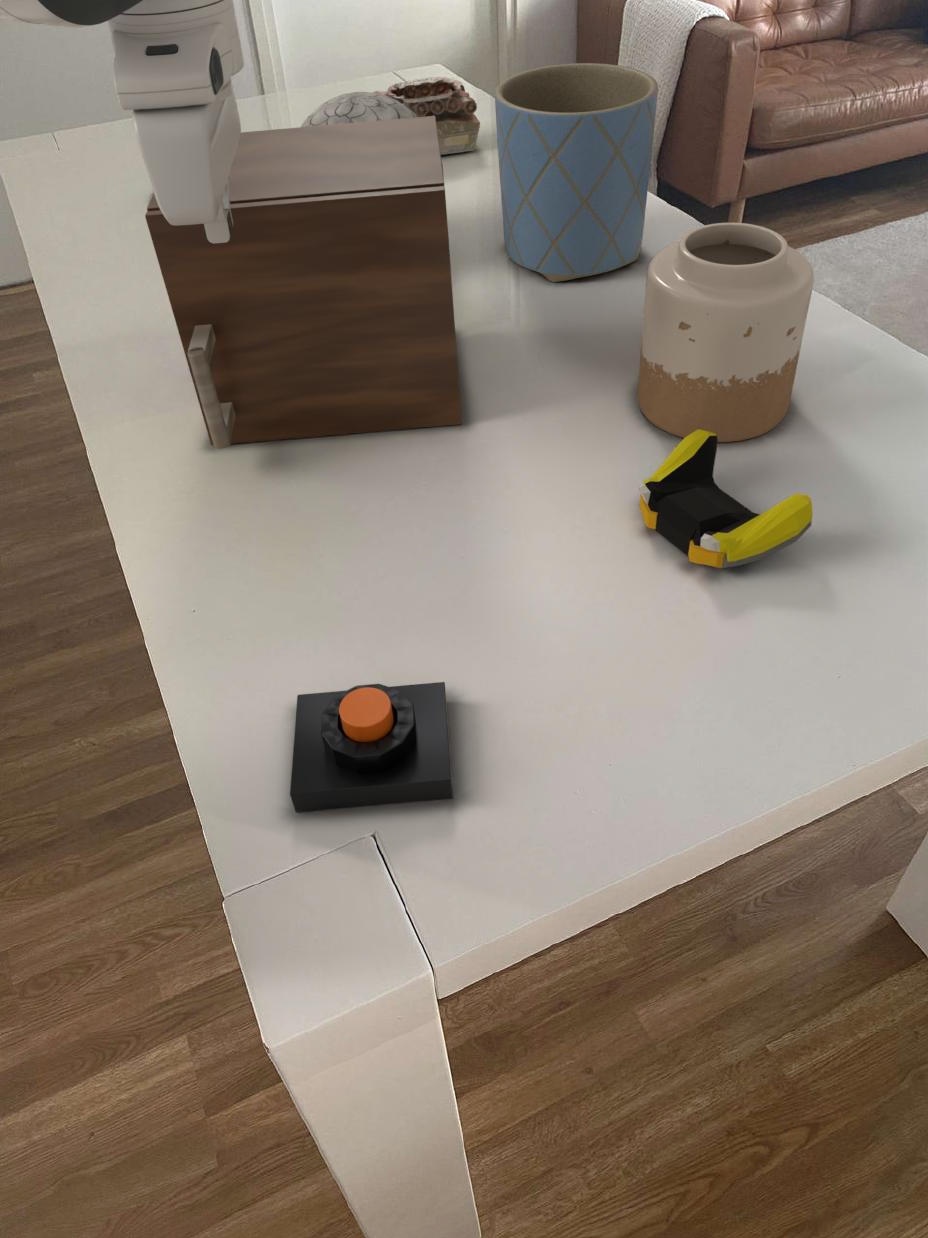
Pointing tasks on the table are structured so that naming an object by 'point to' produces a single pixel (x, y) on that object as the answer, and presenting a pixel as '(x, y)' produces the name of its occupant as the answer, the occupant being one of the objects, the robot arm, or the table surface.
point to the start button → (366, 714)
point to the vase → (722, 331)
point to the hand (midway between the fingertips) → (221, 235)
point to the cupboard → (334, 160)
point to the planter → (575, 166)
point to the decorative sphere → (358, 110)
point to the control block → (372, 752)
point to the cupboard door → (317, 315)
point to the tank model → (441, 110)
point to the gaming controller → (715, 510)
